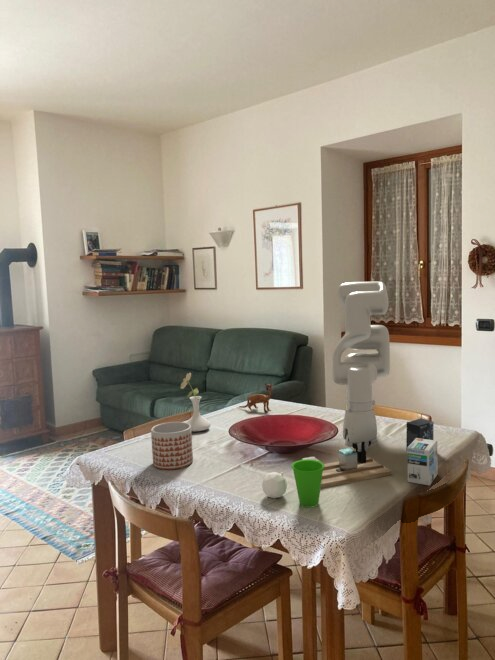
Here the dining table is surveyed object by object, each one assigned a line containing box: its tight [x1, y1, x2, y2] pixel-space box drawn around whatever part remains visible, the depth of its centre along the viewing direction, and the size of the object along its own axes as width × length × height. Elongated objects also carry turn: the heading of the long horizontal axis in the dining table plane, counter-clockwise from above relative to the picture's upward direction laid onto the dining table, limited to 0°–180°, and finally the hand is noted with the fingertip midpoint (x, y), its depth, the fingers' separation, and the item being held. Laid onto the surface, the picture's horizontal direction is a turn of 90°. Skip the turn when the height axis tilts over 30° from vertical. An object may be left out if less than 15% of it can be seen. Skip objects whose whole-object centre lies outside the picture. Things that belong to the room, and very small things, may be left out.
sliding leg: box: [338, 447, 358, 471], centre depth 165 cm, size 5×4×6 cm
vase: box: [150, 421, 194, 471], centre depth 181 cm, size 14×14×13 cm
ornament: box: [261, 471, 288, 499], centre depth 150 cm, size 7×7×8 cm
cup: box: [291, 459, 325, 508], centre depth 144 cm, size 9×9×11 cm
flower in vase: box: [179, 372, 212, 432], centre depth 217 cm, size 13×11×25 cm
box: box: [405, 417, 434, 452], centre depth 182 cm, size 8×6×11 cm
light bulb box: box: [406, 438, 438, 486], centre depth 159 cm, size 11×7×11 cm, turn 148°
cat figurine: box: [238, 382, 274, 413], centre depth 245 cm, size 18×7×14 cm, turn 65°
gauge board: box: [301, 456, 392, 489], centre depth 165 cm, size 14×26×6 cm, turn 109°
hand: (361, 462), depth 167 cm, fingers closed
